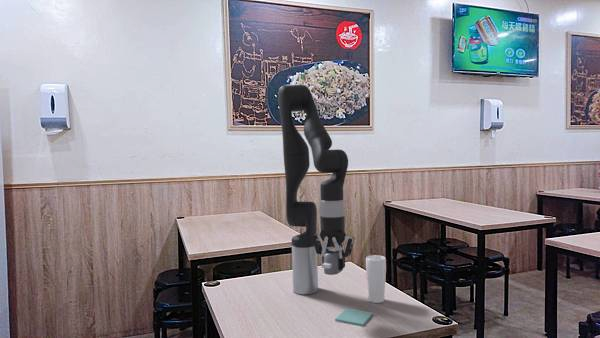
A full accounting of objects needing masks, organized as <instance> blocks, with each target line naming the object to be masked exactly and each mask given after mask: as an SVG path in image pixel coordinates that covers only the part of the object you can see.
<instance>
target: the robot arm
mask: <svg viewBox="0 0 600 338" xmlns="http://www.w3.org/2000/svg"><path fill="white" fill-rule="evenodd" d="M277 101H278V110H279V118H280V125H281V130H282V132H281V133H282V150H283V151H282V152H283V153H282V154H283V162H284V164H283V165H284V175H285V177H284V178H285V197H286V198H285V215H286V216H285V217H286V221H287V224H288V225H289V226H290V227H301V228H303V227H304V228H305V231H303V232H301V233H300V234H296V235H294V236H292V237H291V259H292V260H291V261H292V263H291V265H292V292H293V293H295V294H298V295H312V294H316V293H317V292H318V291H319V289H318V288H319V277H318V276H319V273H318V268H319V267H318V255H320V256H321V265H322V264H323V263H324V253H325V252H326V251H329V250H330V249H331V248H334V249H336V251H337V252H338V256H339V270H342V271H343V270H344V268H345V267H346V258H348V257H349V256H351V255H352V250H353V247H354V243H355V237H354V236H348V235H347V234H346V232H345V231H346V230H345V229H346V226H345V225H346V220H345V219H346V217H345V216H346V215H345V202H344V183H345V180H346V175H347V172H348V167H349V157H348V155H347V153H346V152H345V150H343V149H331V147H332V145H333V141H332V140H333V139H332V138H331V136H330V134H329V132H328V131H327V129H326V127H325V126H324V124H323V122H322V120H321V117H320V114H319V111H318V108H317V105H316V102H315V100H314V97H313V94H312V92H311V90H310V88H309V87H308V86H307V85H304V84H290V85H281V86H280V87H279V88H278V92H277ZM302 111H304V113H305V114H306V118H305V121H304V123H303V124H304V125H303V134H304V137H305V139H306V140H305V139H304V137H303V136H302V135H301V133H300V132H299V131H298V129H297V127H296V125H295V124H294V123H295V122H294V118H293V113H294V112H302ZM292 112H293V113H292ZM306 141H307V142H306ZM307 143H308V144H307ZM308 145H309V146H308ZM309 147H310V149H311V154H312V161H313V166H314V169H316V170H317V171H318V172H319V173H322V174H328V173H329V174H330V173H331V176H330V177H329V179H326V180H324V181H322V182H321V183H320V186H319V187H320V190H319V191H320V193H319V194H320V202H319V203H320V205H319V216H320V217H319V218H320V220H319V221H320V232H319V233H317V231H318V228H317V227H318V226H317V225H318V223H317V222H318V212H317V211H318V209H317V205H316V203H315V201H298V198H297V197H298V191H299V188H300V186H301V184H302V182H303V181H304V179H305V177H306V175H307V173H308V171H309V169H310V166H311V165H310V151H309V150H310V149H309ZM321 240H322V242H323V244H322V242H321ZM344 241H345V244H346V246H344V244H343V243H344Z"/></svg>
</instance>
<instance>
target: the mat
mask: <svg viewBox="0 0 600 338" xmlns="http://www.w3.org/2000/svg"><path fill="white" fill-rule="evenodd" d="M373 315H374V312H372V311H371V312H370V311H364V310H359V309H354V308H353V309H352V308H347V307H346V308H345V309H343V310H342V312H341V313H339V314H338V316H336V318H335V319H334V321H335V322H339V323H345V324H350V325H356V326H361V327H364V326H365V324H367V322H368V321H369V320H370V319H371V317H372V316H373Z"/></svg>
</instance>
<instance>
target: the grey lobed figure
mask: <svg viewBox="0 0 600 338" xmlns="http://www.w3.org/2000/svg"><path fill="white" fill-rule="evenodd" d="M321 268H322V269H323V273H324V274H325V275H330V276H335V275H338V274H339V273H341V272H342V271H343V270H339V256H338V252H337V251H336V249H335V248H334V249H333V248H332V249H329V251H326V252H325V253H324V263H323V264H322V263H321Z"/></svg>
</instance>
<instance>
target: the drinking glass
mask: <svg viewBox="0 0 600 338" xmlns="http://www.w3.org/2000/svg"><path fill="white" fill-rule="evenodd" d="M365 272H366V281H367V283H366V284H367V291H368V292H367V293H368V301H369V302H371V303H374V304H382V303H384V301H385V294H386V293H385V290H386V289H385V288H386V278H387V277H386V274H387V259H386V257H385V256H383V255H379V254H378V255H375V254H371V255H367V256H366V257H365Z"/></svg>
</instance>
